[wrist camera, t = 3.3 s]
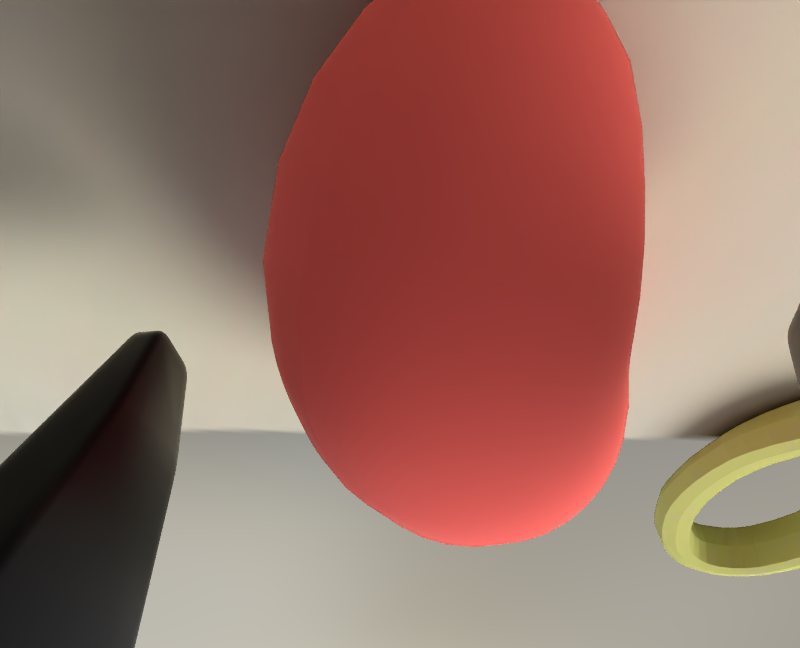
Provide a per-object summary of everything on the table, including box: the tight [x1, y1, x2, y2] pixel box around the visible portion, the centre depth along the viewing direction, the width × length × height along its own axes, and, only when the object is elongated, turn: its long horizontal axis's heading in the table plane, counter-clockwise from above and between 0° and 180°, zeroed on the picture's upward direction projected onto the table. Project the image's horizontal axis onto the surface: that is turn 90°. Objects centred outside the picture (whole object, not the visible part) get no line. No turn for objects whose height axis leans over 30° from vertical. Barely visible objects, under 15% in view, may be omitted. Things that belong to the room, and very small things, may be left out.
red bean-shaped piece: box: [263, 0, 645, 547], centre depth 10 cm, size 5×9×6 cm, turn 0°
